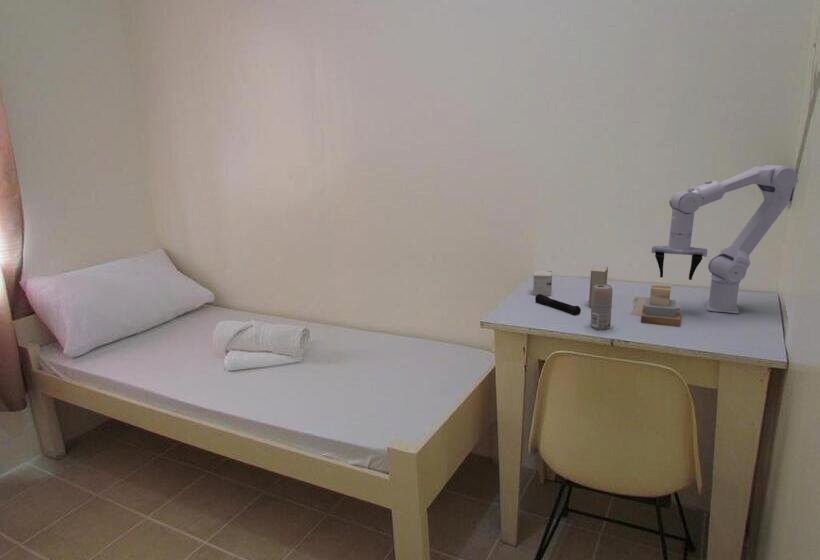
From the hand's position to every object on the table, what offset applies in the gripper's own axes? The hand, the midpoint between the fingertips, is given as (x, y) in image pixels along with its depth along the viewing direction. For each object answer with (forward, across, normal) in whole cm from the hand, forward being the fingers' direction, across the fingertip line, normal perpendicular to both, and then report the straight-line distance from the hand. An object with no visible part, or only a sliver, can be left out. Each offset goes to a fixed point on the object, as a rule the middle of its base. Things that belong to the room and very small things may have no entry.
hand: (675, 277), depth 155 cm
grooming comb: (+11, -8, +2) cm, 14 cm away
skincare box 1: (+11, -40, +6) cm, 42 cm away
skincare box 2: (+11, -21, -1) cm, 24 cm away
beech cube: (+6, -4, -7) cm, 10 cm away
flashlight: (+12, -33, -8) cm, 36 cm away
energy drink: (+11, -18, -20) cm, 29 cm away
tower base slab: (+11, -3, -8) cm, 14 cm away
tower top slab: (+8, -3, -8) cm, 12 cm away
